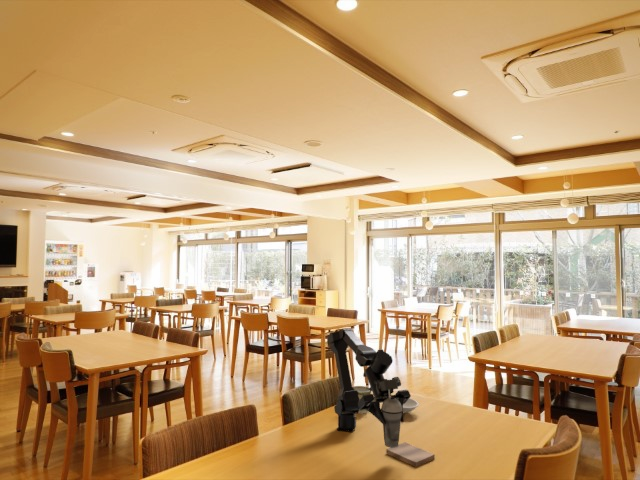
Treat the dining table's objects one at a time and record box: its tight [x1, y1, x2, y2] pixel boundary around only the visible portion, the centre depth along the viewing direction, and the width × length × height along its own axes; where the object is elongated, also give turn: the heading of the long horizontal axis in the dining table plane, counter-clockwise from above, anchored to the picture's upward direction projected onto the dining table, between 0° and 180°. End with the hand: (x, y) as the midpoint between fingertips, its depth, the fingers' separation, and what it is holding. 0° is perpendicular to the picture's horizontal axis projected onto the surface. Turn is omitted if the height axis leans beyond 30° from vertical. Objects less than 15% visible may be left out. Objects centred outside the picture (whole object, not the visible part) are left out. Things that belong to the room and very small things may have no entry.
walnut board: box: [385, 441, 436, 468], centre depth 149 cm, size 13×10×2 cm
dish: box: [403, 397, 420, 414], centre depth 195 cm, size 18×14×5 cm
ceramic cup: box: [352, 385, 374, 415], centre depth 197 cm, size 13×10×10 cm
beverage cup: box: [380, 390, 403, 448], centre depth 145 cm, size 7×7×20 cm
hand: (393, 423), depth 144 cm, fingers closed on beverage cup, 7 cm apart
